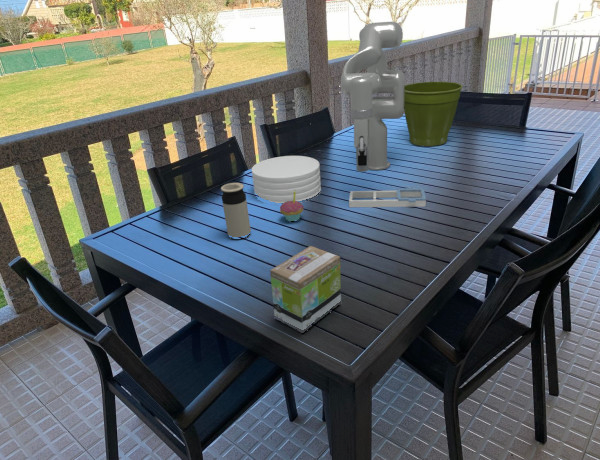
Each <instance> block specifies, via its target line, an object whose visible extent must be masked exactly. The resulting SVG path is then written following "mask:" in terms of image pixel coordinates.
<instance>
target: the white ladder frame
mask: <svg viewBox="0 0 600 460" xmlns="http://www.w3.org/2000/svg"><path fill="white" fill-rule="evenodd" d="M370 198H371V199H370ZM378 198H380V199H378ZM381 198H385V199H381ZM386 198H394V199H386ZM395 198H396V199H395ZM426 204H427V197H426V193H425V189H424V188H414V187H411V186H410V187H406V188H397V189H396V190H357V191H356V190H351V191H349V199H348V206H349V208H400V207H401V208H404V207H405V208H406V207H407V208H410V207H412V208H413V207H415V208H416V207H417V208H418V207H421V208H424V207H426V206H427V205H426Z"/></svg>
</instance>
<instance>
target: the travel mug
mask: <svg viewBox="0 0 600 460" xmlns="http://www.w3.org/2000/svg"><path fill="white" fill-rule="evenodd" d="M244 186H245V185H244V184H243V183H240V182H229V183H226V184H224V185H222V186H221V187H220V190H221V192H222V195H221V201H222V208H223V213H224V219H225V226H226V231H227V236H228V235H230V236H232V237H241V236H245V235H248V234H249V233H250V232H251V233H252V230H251V223H250V217H249V209H248V203H247V195H246V192H244V188H245V187H244Z"/></svg>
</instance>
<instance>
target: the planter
mask: <svg viewBox="0 0 600 460" xmlns="http://www.w3.org/2000/svg"><path fill="white" fill-rule="evenodd" d="M364 146H365V145H364ZM359 147H360V145H359ZM366 155H367V165H366V166H358V147H356V148H355V161H356V171H357V172H360V173H363V172H368V171H370V170H369V144H368V146H367V147H366Z"/></svg>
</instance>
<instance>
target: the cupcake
mask: <svg viewBox="0 0 600 460" xmlns="http://www.w3.org/2000/svg"><path fill="white" fill-rule="evenodd" d="M295 194H296V192H295V191H294V197H293V201H287V202H285V203H283V204H282V205H280V206H279V213H281V214H282V215H283V216H284V218H285V220H286V221H287V220H288V221H295V220H298V219H299V220H300V219H301V218H300V217H301V213H303V211H304V207H305V206H304V204H302V202H301V203H300V202H298V201H295ZM299 220H298V221H299ZM288 221H287V222H288Z"/></svg>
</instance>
